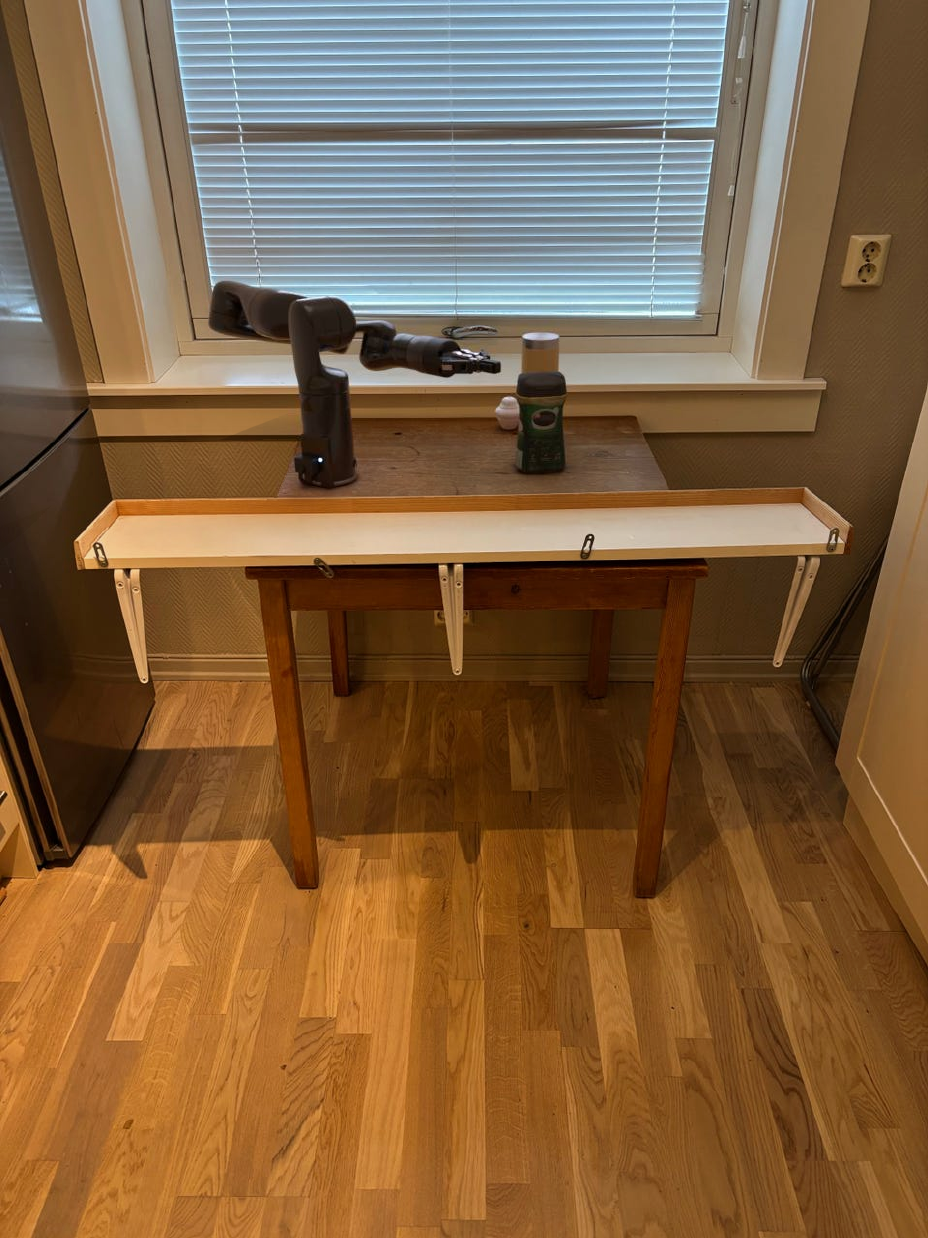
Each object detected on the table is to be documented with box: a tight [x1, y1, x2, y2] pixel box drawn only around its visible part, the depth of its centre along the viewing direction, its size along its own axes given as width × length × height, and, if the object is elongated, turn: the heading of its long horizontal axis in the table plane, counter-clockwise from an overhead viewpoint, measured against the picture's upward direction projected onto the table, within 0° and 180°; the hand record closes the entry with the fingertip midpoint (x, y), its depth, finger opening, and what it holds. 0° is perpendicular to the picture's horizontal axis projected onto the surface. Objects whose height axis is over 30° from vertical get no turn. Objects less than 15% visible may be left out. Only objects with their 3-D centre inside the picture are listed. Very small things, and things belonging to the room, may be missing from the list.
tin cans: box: [520, 331, 560, 374], centre depth 187 cm, size 8×8×22 cm
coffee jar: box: [515, 371, 568, 474], centre depth 174 cm, size 10×8×19 cm
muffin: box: [494, 396, 519, 431], centre depth 200 cm, size 6×6×7 cm
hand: (498, 367), depth 175 cm, fingers closed
